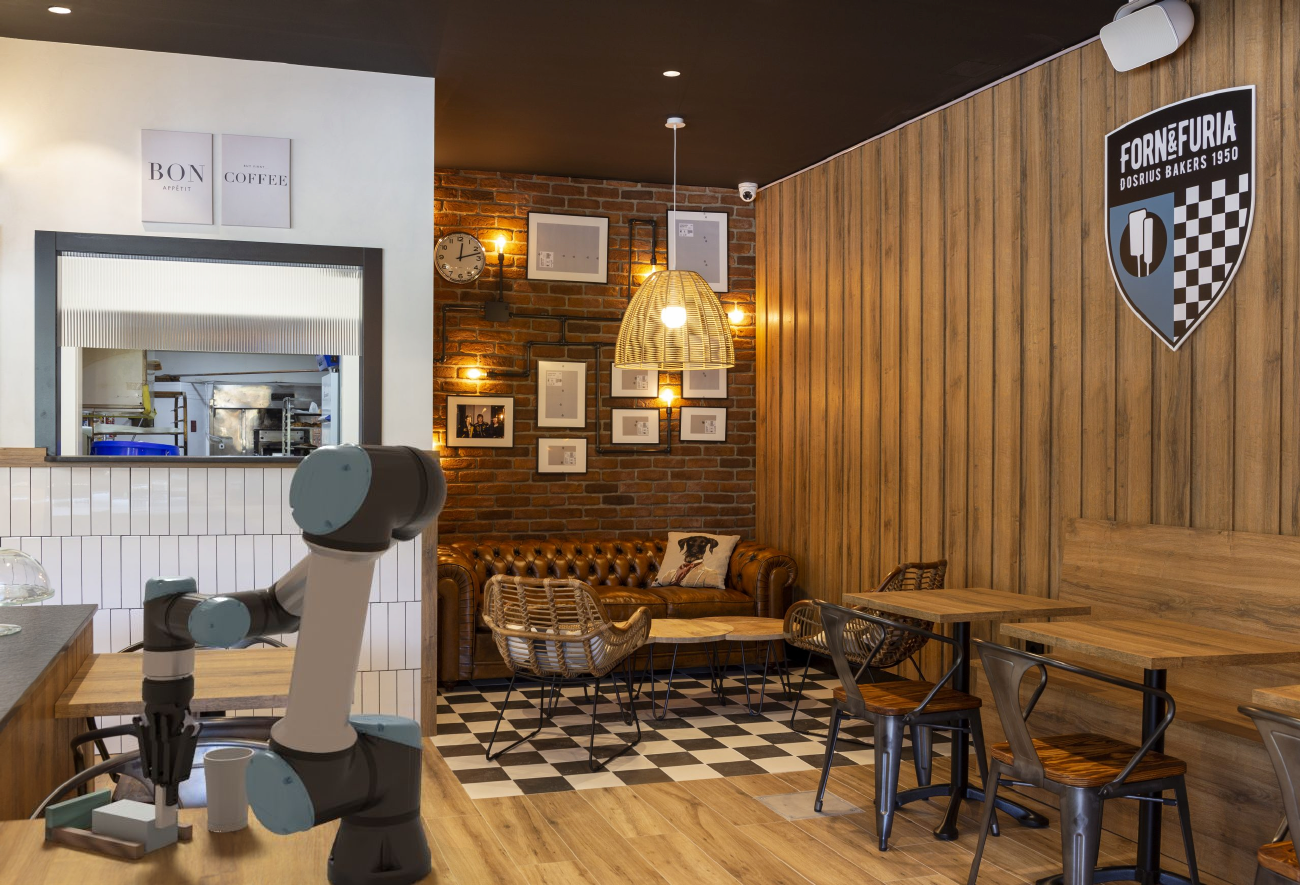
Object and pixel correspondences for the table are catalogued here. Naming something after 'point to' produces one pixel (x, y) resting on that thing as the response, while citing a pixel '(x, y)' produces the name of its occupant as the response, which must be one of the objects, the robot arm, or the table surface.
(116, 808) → the block
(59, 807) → the brown green u-shaped frame
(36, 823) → the table surface
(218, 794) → the cup
